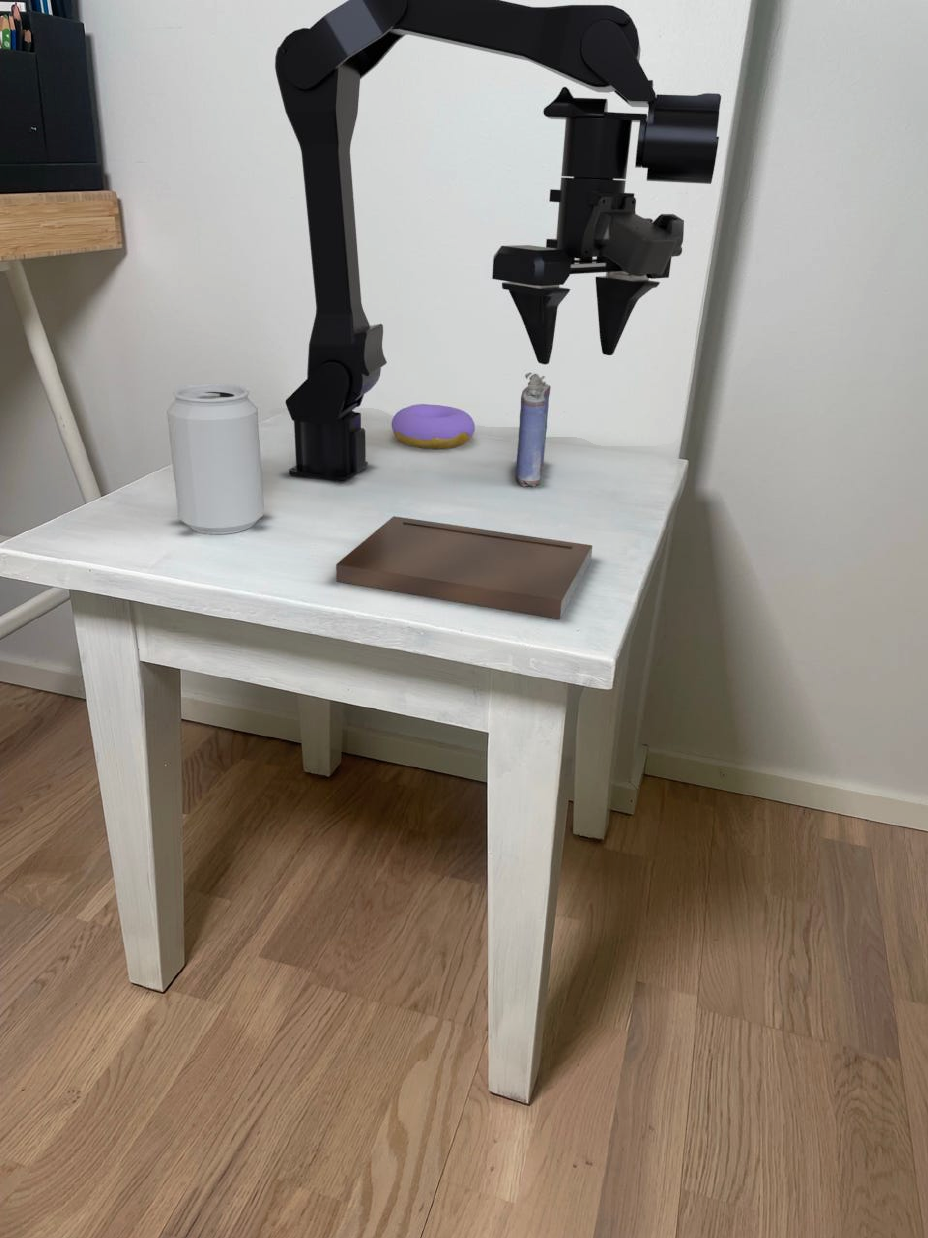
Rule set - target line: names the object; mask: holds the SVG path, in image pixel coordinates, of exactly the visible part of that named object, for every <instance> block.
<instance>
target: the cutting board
mask: <svg viewBox="0 0 928 1238" xmlns="http://www.w3.org/2000/svg"><path fill="white" fill-rule="evenodd" d="M592 554H593V545H592V544H587V543H579V542H573V541H567V540H566V541H565V540H559V539H551V538H545V537H539V536H531V535H526V534H517V533H511V532H503V531H499V530H498V531H497V530H490V529H485V528H484V529H483V528H477V527H470V526H463V525H458V524H457V525H456V524H450V523H442V522H437V521H436V522H435V521H428V520H423V519H422V520H421V519H415V518H409V517H401V516H395V515H394V516H392V517H391V518H390V519H389V520H387V521H386V522H384V523H383V524H382V525H381V526H380V527H379V528H378V529H377V530H375V531H374V532H373V533H371V534H370V535H369V536H368V537H367V538H366V539H365V540H363V541H362V542H360V544H359V545H357V546H356V547H355V548H353V550H351V551H350V552H349V553H348V554H347V555H345V556H344V557H342V559H341V560H339V561H338V562H337V563H336V564H335V573H336V575H335V576H336V582H338V583H343V584H349V585H350V584H352V585H356V586H361V587H367V588H368V587H369V588H374V589H379V590H385V591H390V592H391V591H392V592H398V593H402V594H410V595H415V596H421V597H426V598H433V599H439V600H445V601H451V602H456V603H457V602H458V603H461V604H462V603H463V604H469V605H474V606H480V607H487V608H491V609H498V610H503V611H509V612H514V613H515V612H516V613H522V614H526V615H534V616H538V617H544V618H550V619H556V620H560V619H561V618H562V616H563V614H564V612H565V610H566V608H567V607H568V605H569V603H570V601H571V599H572V597H573V595H574V593H575V592H576V590H577V588H578V586H579V584H580V582H581V580H582V578H583V577H584V575H585V573H586V571H587V569H588V567H589V565H590V563H591V562H592Z"/></svg>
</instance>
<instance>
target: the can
mask: <svg viewBox="0 0 928 1238" xmlns="http://www.w3.org/2000/svg"><path fill="white" fill-rule="evenodd" d="M249 394H250V391H249V390H248V389H247V388H246V387H244V386H240V385H236V384H229V383H199V384H190V385H186V386H182V387H178V388H177V389H175V390H174V391H173V392H172V395H173V396H174V398H175V399H174V400H173V402H172V403H171V404H170V406H169V407H168V408H167V410H166V414H167V423H168V432H169V443H170V451H171V461H172V470H173V480H174V481H173V482H174V489H175V490H174V491H175V500H176V508H177V517H178V518H179V520H180V521H181V522H182V523H184V524H185V525H186V526H188V527H189V529H191V530H193V531H195V532H198V533H202V534H209V535H227V534H228V535H229V534H235V533H240V532H244V531H246V530H248V529H251V528H252V527H253V526H255V525H256V523H257V521H259V520H260V519H262V517H263V516H264V513H265V508H264V507H265V505H264V503H265V502H264V489H263V475H262V474H263V473H262V472H263V471H262V457H261V443H260V441H261V440H260V428H259V426H260V424H259V409H258V407H257V405H256V404H255V403H254V402H252V401H251V399H249V397H248V396H249Z"/></svg>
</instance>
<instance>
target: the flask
mask: <svg viewBox="0 0 928 1238" xmlns="http://www.w3.org/2000/svg"><path fill="white" fill-rule="evenodd" d="M524 377H525V379H526V380H528V379H529V381H528V383H527V386H525V388H524V389H523V390H522V393H521V396H520V409H519V411H520V412H519V427H518V439H517V454H516V462H515V463H516V466H515V480H516V483H517V484H518V485H519V486H523V487H528V486H530V487H531V486H532V487H533V488H534V487H536V486H537V485H539V484H540V483H541V478H542V474H541V472H542V471H541V470H543V468H544V461H545V451H546V450H545V449H546V438H547V430H548V415H549V414H548V413H549V403H550V394H551V388H552V387H551V385H550V384H548V383H547V382H546V381H544V379H545V378H546V376H545V375H542V376H540V375H539V374H537V373H532V372H528V373H525V375H524Z"/></svg>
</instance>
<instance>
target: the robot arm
mask: <svg viewBox="0 0 928 1238" xmlns="http://www.w3.org/2000/svg"><path fill="white" fill-rule="evenodd" d="M408 35H409V36H413V37H418V38H422V39H427V40H431V41H432V40H433V41H436V42H440V43H445V44H449V45H456V46H459V47H464V48H467V49H473V50H478V51H481V52H485V53H486V52H487V53H491V54H495V55H500V56H504V57H508V58H509V57H510V58H513V59H518V60H523V61H527V62H530V63H532V64H533V65H536V66H539V67H541V68H543V69H544V70H547V71H549V72H552V73H554V74H556V75H558V76H560V77H562V78H564V79H566V80H568V81H571V82H572V83H575V84H578V85H580V86H582V87H584V88H586V89H588V90H591V91H594V92H597V93H607V94H609V93H613V92H614V93H615V94H616V95H617V96H618V97H620V98H621V100H623V101H624V102H625V103H626V104H627V105H629V106H630V107H631V108H648V110H647V113H634V112H633V113H632V112H631V113H630V112H613V111H612V112H611V111H609V109H608V107H609V100H608V98H598V97H597V98H595V97H574V95H573V94H572V92H571V90H570V89H569V88H568V87H567V86H563V87H561V89H560V91H559V93H558V95H557V96H556V97H555V98H554V99H553V100H552V101H551V103H549V104H548V105H546V106H545V107H544V108H543V111H542V112H543V113H542V114H543V115H544V117H546V118H548V119H550V120H565V125H564V137H563V149H562V150H563V151H562V164H561V173H560V174H561V177H560V187H559V189H553V188H552V189H551V188H550V189H549V200H548V202H550V203H558V211H557V223H556V234H555V235H556V237H555V238H546V241H545V246H538V245H531V244H520V245H514V244H513V245H501V246H499V248H498V250H497V251H496V252H495V254H494V255H493V259H492V275H491V276H492V277H491V279H492V280H496V281H501V289H502V290H506V291H508V292H509V294H510V297H511V298H512V301H513V303H514V305H515V307H516V310H517V311H518V314H519V315H520V318H521V320H522V323H523V325H524V328H525V331H526V334H527V336H528V339H529V341H530V344H531V346H532V350H533V353H534V355H535V357H536V360H537V363H538V364H541V365H544V366H545V365H549V364H550V361H551V356H552V352H553V346H554V340H555V339H554V338H555V332H556V322H557V316H558V308H559V305H560V304H561V303H562V302H563V300H564V299H565V298H566V297H567V295H568V294H569V293H570V291H571V288H568V287H562V286H563V285H564V284H565V283H566V282H567V280H568V279H569V277H570V276H571V275H580V274H600V273H605V275H601V276H599V275H598V276H595V278H594V279H595V289H596V302H597V318H598V331H599V341H600V346H601V347H600V348H601V353H602V354H603V355H606V356H613V355H614V353H615V350H616V348H617V346H618V344H619V342H620V339H621V337H622V335H623V333H624V330H625V328H626V325H627V323H628V321H629V319H630V316H631V315H632V313H633V310H634V308H635V306H636V305H637V303H638V301H639V300H640V299H641V298H642V297H643V296H645V295H646V294H648V292H650V291H651V290H652V289H655V288H656V289H657V288H658V287H659V285H660V284H661V282H660V281H655V280H654V279H668V278H670V271H671V266H672V265H671V263H672V258H673V257H674V258H675V257H679V256H681V255H682V253H683V247H682V245H683V243H684V235H685V234H684V233H685V232H684V231H685V220H684V219H682V218H681V217H679V216H678V215H676V214H674V213H660V214H659V215H658V217H656V218H655V219H652V218H650V217H649V218H647V217H646V218H645V217H642V216H640V215H639V214H637V213H636V207H637V206H636V205H637V198H636V197H635V193H634V192H626V183H627V182H626V181H627V175H628V174H627V173H628V165H629V157H630V156H629V154H630V146H631V136H632V126H633V123H639V126H638V127H639V128H638V134H637V145H636V154H635V162H634V163H635V166H634V168H638V169H647V171H646V182H662V183H683V184H703V185H704V184H707V185H711V184H712V182H713V177H714V172H715V167H716V160H717V154H718V149H719V148H718V147H719V141H720V136H718V129H719V120H720V109H721V101H722V95H721V94H720V93H715V92H714V93H713V92H712V93H710V92H707V93H700V94H695V95H686V94H659V93H658V94H656V91H655V90H654V80H653V79H648V77H647V75H646V73H645V71H644V69H643V67H642V65H641V64H640V58H641V45H640V37H639V32H638V28H637V27H636V25H635V22H634V21H633V18H632V17H631V16H630V14H629V13H627V12H626V11H625V10H624V9H622V8H619V7H617V6H615V5H609V4H567V5H557V6H529V5H524V4H519V3H514V2H510V1H506V0H347V1H345V2H344V3H342V4H341V5H339V6H337V7H336V8H334V9H331V10H330V11H329V12H327V13H326V14H324V15H323V16H322V17H321V18H320V19H318V21H316V22H315V23H314V24H313V25H312V26H311V27H310V28H307V27H302V28H299V29H295V30H293V31H292V32H290V33H289V34H288V35H286V36H285V38H284V39H283V41H282V42H281V44H280V45H279V47H277V50H276V53H275V56H274V57H275V58H274V61H275V62H274V68H275V69H274V71H275V75H276V79H277V83H278V87H279V91H280V95H281V99H282V104H283V108H284V112H285V114H286V116H287V118H288V121H289V124H290V126H291V129H292V130H293V133H294V135H295V138H296V140H297V142H298V145H299V149H300V153H301V162H302V173H303V183H304V194H305V195H304V196H305V204H306V215H307V224H308V235H309V245H310V246H309V247H310V255H311V256H310V257H311V266H312V276H313V277H312V278H313V287H314V288H313V289H314V298H315V317H314V321H313V325H312V329H311V332H310V333H311V334H310V338H309V339H310V340H309V342H308V352H307V353H308V355H307V371H306V376H307V378H306V379H305V380H304V381H303V382H302V383H301V384H300V385H299V386H298V387H297V388H296V389H295V390H293V392H292V393H291V395H289V396H288V397H287V398H286V399H285V405H286V408H287V411H288V413H289V416H290V418H291V421H292V422H293V429H294V430H293V431H294V433H293V434H294V449H295V465H294V466H292V467H290V468H289V469H288V475H290V476H297V477H303V478H312V479H319V480H324V481H325V480H326V481H334V482H341V483H343V482H347V481H348V480H349V479H351V478H353V477H355V476H356V475H357V474H360V472H362V471H363V470H365V469H366V468H367V467H369V462H368V461H367V458H366V457H367V455H366V453H367V452H366V451H367V448H366V445H367V444H366V429H365V428H364V427H362V413H361V412H356V411H354V410H355V409H356V408H359V407H361V405H362V402H363V399H364V396H365V394H367V393H368V392H369V391H371V390H372V389H373V388H374V387H375V385H377V383H378V381H379V380H380V377H381V372H382V371H381V370H382V367H384V366H385V365H387V363H388V362H387V359H386V357H385V355H384V350H383V338H384V324H382V323H378V324H373V325H371V324H370V322H369V320H368V317H367V315H366V313H365V311H364V308H363V304H362V293H361V279H360V265H359V255H358V252H359V251H358V239H357V226H356V213H355V202H354V188H353V186H354V185H353V175H352V174H353V173H352V162H351V160H352V159H351V144H352V139H353V136H354V130H355V127H356V122H357V117H358V113H359V100H360V87H361V79H363V78H364V77H365V76H366V75H368V74H369V73H371V71H372V70H373V69H375V68H376V67H377V66H378V65H379V64H380V63H381V62H382V60H383V59H384V58H385V57H386V56H387V55H388V53H389V52H390V51H391V50H392V49H393V48H394V46H395V45H396V44H397V43H398V42H399V41H401V40H402V39H403V38H404V37H405V36H408ZM650 279H651V280H650Z"/></svg>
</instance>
